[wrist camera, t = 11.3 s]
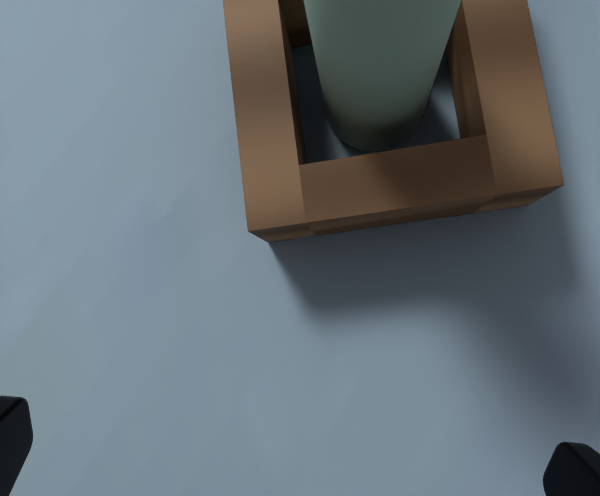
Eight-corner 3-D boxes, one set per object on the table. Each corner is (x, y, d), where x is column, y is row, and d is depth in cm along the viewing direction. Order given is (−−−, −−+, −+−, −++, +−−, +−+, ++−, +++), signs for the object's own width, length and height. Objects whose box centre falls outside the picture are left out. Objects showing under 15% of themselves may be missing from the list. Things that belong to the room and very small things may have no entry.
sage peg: (444, 114, 20) (579, -187, 7) (360, 170, 20) (357, -30, 8) (387, 39, 20) (424, -349, 8) (307, 94, 21) (226, -200, 8)
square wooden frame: (527, 205, 19) (564, 184, 15) (267, 242, 20) (248, 231, 17) (481, -37, 20) (505, -105, 17) (241, 14, 22) (218, -40, 18)
